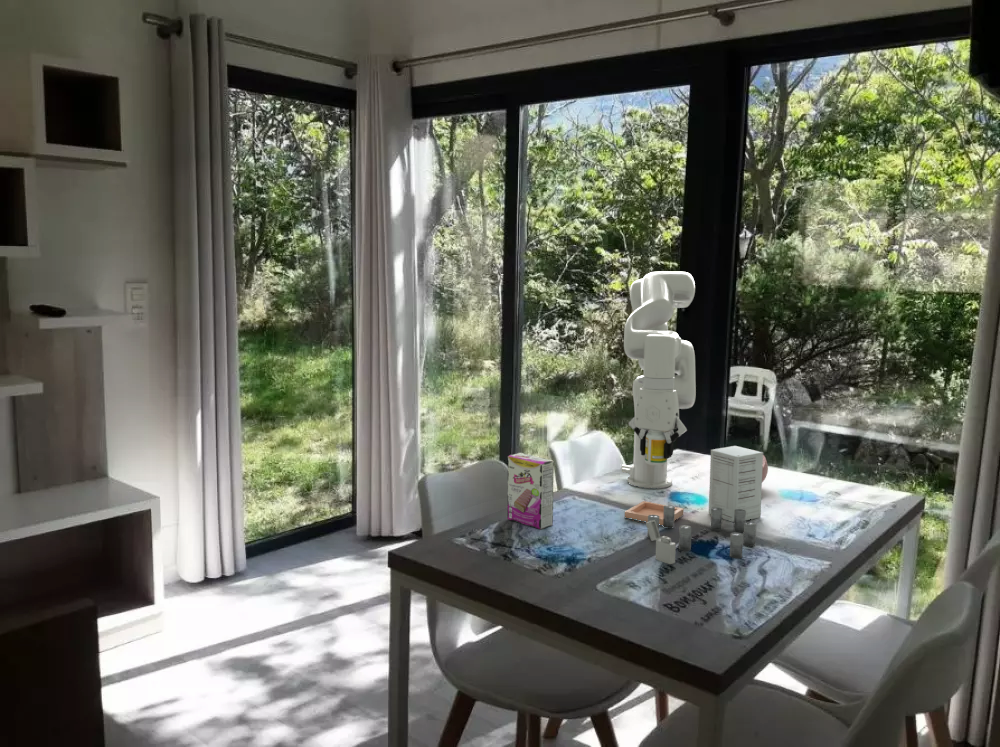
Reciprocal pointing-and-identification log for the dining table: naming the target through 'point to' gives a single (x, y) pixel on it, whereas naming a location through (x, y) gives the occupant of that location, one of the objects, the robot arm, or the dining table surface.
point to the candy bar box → (530, 490)
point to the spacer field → (716, 525)
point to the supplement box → (736, 481)
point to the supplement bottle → (655, 448)
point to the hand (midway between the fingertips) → (656, 455)
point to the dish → (650, 511)
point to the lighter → (661, 544)
